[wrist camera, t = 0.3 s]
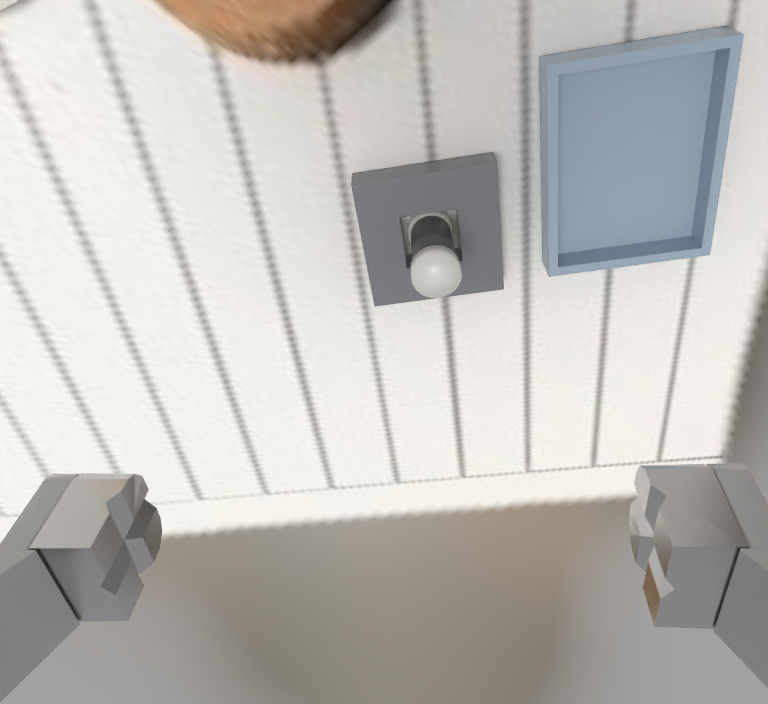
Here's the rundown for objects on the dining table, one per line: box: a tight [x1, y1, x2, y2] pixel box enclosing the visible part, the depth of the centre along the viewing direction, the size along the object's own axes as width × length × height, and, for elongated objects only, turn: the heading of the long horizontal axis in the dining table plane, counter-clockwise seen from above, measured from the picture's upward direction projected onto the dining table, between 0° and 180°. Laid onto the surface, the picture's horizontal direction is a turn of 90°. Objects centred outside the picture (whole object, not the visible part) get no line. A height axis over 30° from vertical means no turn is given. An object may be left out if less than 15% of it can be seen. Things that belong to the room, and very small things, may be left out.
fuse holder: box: [351, 152, 504, 306], centre depth 59 cm, size 12×12×2 cm
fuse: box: [408, 211, 462, 298], centre depth 56 cm, size 4×4×9 cm
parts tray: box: [539, 26, 744, 276], centre depth 55 cm, size 18×14×3 cm
